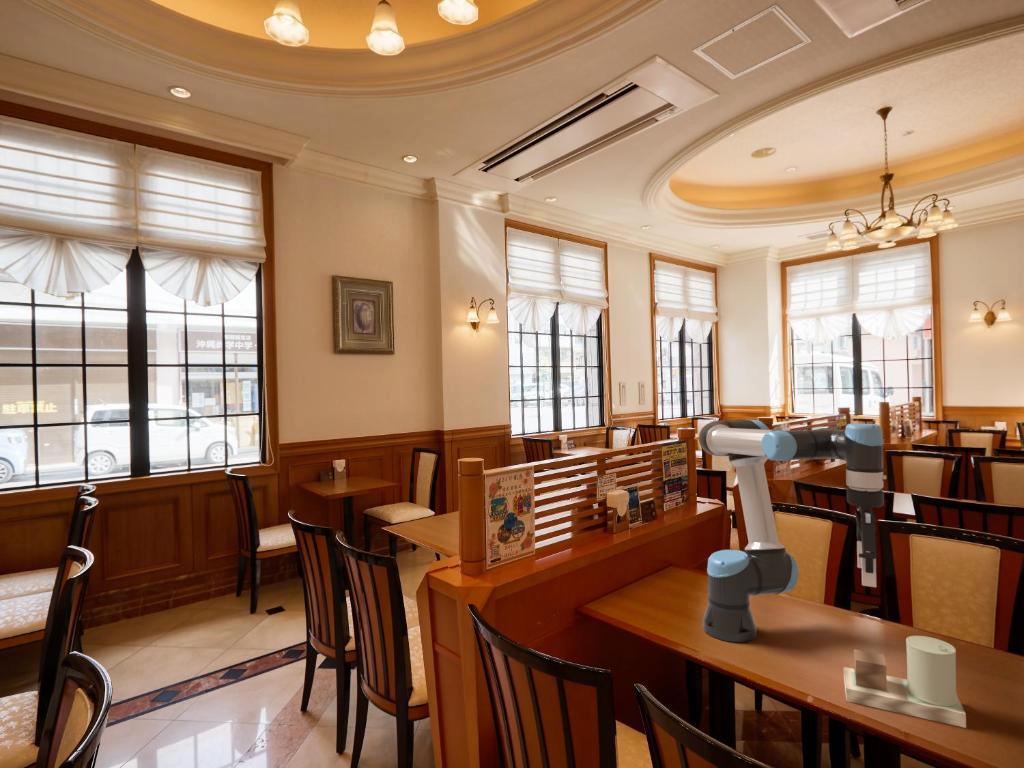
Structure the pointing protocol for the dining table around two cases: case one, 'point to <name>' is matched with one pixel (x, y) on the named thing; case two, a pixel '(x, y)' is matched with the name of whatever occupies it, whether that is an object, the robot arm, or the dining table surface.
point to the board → (901, 700)
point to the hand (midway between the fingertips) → (866, 576)
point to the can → (931, 670)
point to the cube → (870, 670)
